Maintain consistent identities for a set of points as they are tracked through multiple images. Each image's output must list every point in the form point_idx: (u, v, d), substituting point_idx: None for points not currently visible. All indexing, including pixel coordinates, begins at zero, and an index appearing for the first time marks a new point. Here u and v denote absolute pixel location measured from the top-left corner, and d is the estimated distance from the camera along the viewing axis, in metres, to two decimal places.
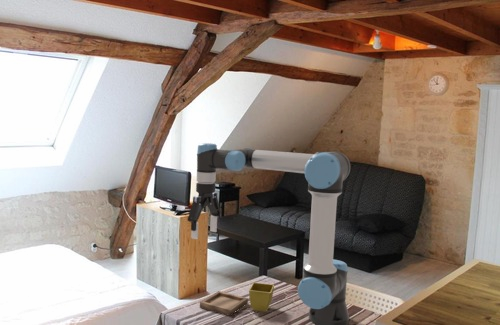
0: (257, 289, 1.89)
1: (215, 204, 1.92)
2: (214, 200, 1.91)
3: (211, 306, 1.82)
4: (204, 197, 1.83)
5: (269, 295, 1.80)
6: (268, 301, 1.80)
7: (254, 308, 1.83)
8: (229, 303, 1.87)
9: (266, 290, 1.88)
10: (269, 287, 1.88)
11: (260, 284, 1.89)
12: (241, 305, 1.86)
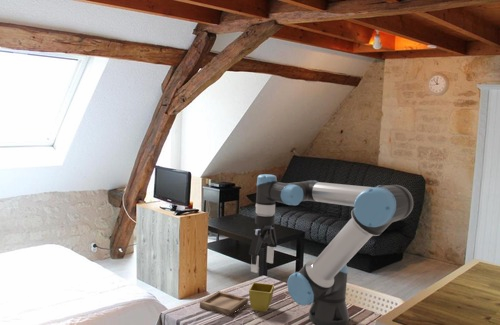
0: (257, 289, 1.89)
1: (272, 235, 1.89)
2: (271, 231, 1.88)
3: (211, 306, 1.82)
4: (264, 229, 1.79)
5: (269, 295, 1.80)
6: (268, 301, 1.80)
7: (254, 308, 1.83)
8: (229, 303, 1.87)
9: (266, 290, 1.88)
10: (269, 287, 1.88)
11: (260, 284, 1.89)
12: (241, 305, 1.86)
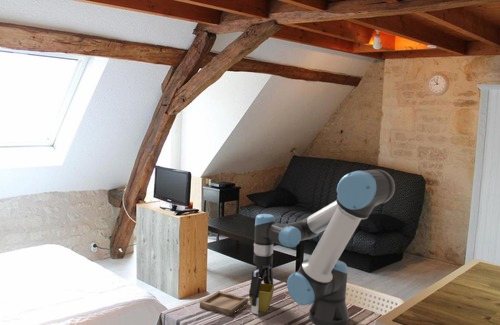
0: None
1: (269, 275, 1.89)
2: (269, 271, 1.89)
3: (211, 306, 1.82)
4: (262, 269, 1.81)
5: (269, 295, 1.80)
6: (268, 301, 1.80)
7: None
8: (229, 303, 1.87)
9: (266, 290, 1.88)
10: (269, 287, 1.88)
11: None
12: (241, 305, 1.86)
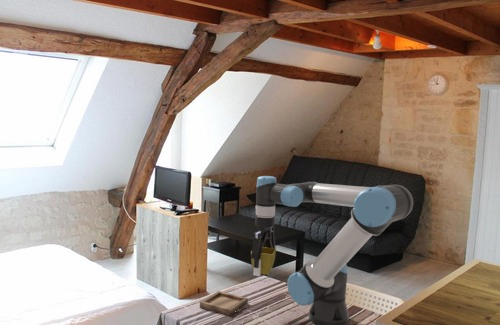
0: None
1: (271, 239, 1.88)
2: (271, 234, 1.87)
3: (211, 306, 1.82)
4: (264, 231, 1.79)
5: (271, 257, 1.78)
6: (270, 263, 1.79)
7: None
8: (229, 303, 1.87)
9: (268, 254, 1.87)
10: (271, 251, 1.86)
11: None
12: (241, 305, 1.86)
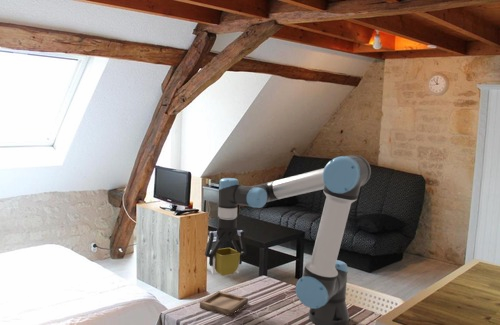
0: None
1: (241, 243, 1.86)
2: (240, 238, 1.86)
3: (211, 306, 1.82)
4: (221, 231, 1.83)
5: (221, 258, 1.80)
6: (220, 264, 1.80)
7: (215, 269, 1.86)
8: (229, 303, 1.87)
9: None
10: None
11: (232, 250, 1.88)
12: (241, 305, 1.86)
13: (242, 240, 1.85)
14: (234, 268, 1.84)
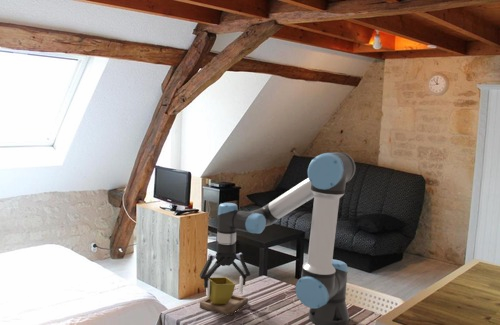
0: None
1: (242, 265, 1.88)
2: (240, 261, 1.87)
3: (211, 306, 1.82)
4: (220, 257, 1.84)
5: (215, 287, 1.81)
6: (214, 293, 1.81)
7: (209, 297, 1.87)
8: (229, 303, 1.87)
9: None
10: None
11: (228, 280, 1.89)
12: (241, 305, 1.86)
13: (243, 262, 1.87)
14: (227, 298, 1.84)
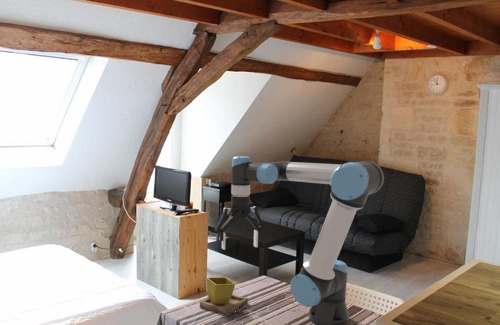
0: None
1: (257, 219, 1.88)
2: (255, 214, 1.88)
3: (211, 306, 1.82)
4: (235, 209, 1.84)
5: (215, 287, 1.81)
6: (214, 293, 1.81)
7: (209, 297, 1.87)
8: (229, 303, 1.87)
9: None
10: None
11: (228, 280, 1.89)
12: (241, 305, 1.86)
13: (257, 215, 1.87)
14: (227, 298, 1.84)
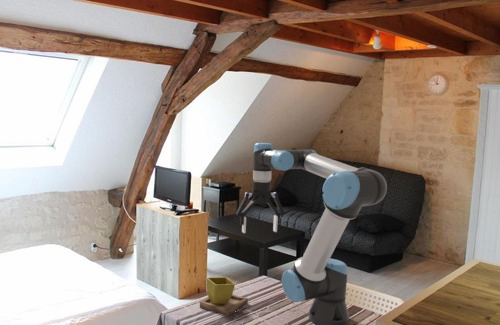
0: None
1: (277, 204, 1.93)
2: (275, 200, 1.92)
3: (211, 306, 1.82)
4: (256, 194, 1.89)
5: (215, 287, 1.81)
6: (214, 293, 1.81)
7: (209, 297, 1.87)
8: (229, 303, 1.87)
9: None
10: None
11: (228, 280, 1.89)
12: (241, 305, 1.86)
13: (277, 201, 1.92)
14: (227, 298, 1.84)
